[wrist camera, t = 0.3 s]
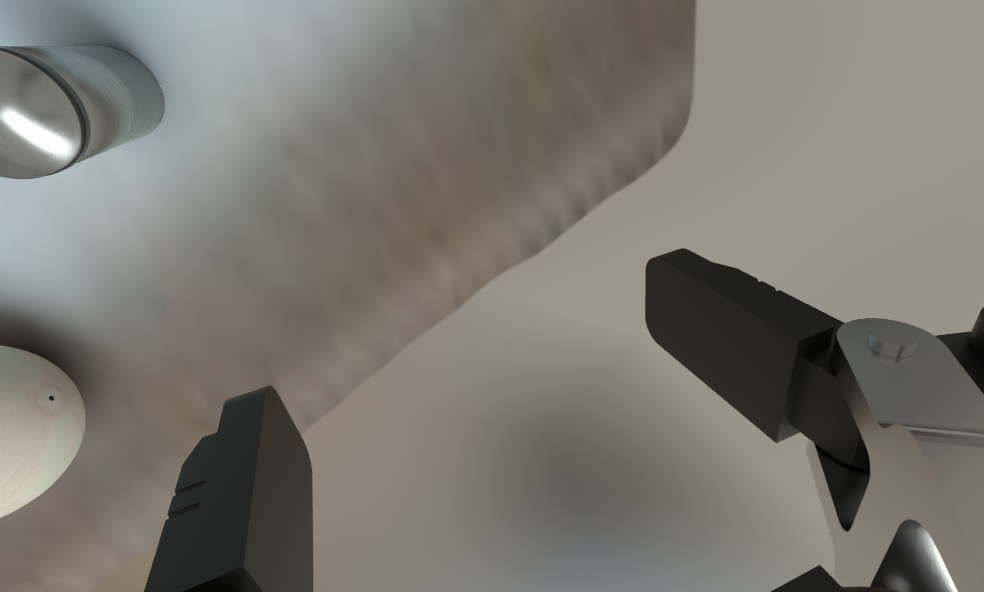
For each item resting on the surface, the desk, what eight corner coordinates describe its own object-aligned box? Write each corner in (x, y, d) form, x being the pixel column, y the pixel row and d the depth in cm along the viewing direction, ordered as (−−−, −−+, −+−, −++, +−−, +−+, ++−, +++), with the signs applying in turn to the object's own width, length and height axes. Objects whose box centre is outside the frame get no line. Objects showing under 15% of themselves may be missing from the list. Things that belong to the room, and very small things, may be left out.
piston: (75, 24, 22) (-77, 14, 15) (177, 79, 24) (90, 95, 17) (50, 108, 24) (-100, 139, 16) (150, 154, 26) (57, 201, 18)
